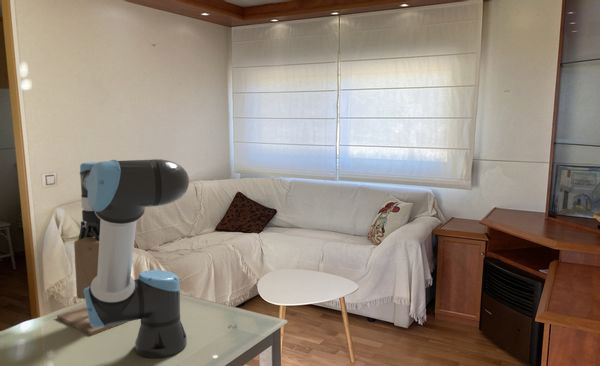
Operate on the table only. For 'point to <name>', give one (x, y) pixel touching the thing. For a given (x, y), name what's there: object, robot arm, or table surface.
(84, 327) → the board
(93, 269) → the wooden block
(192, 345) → the table surface
